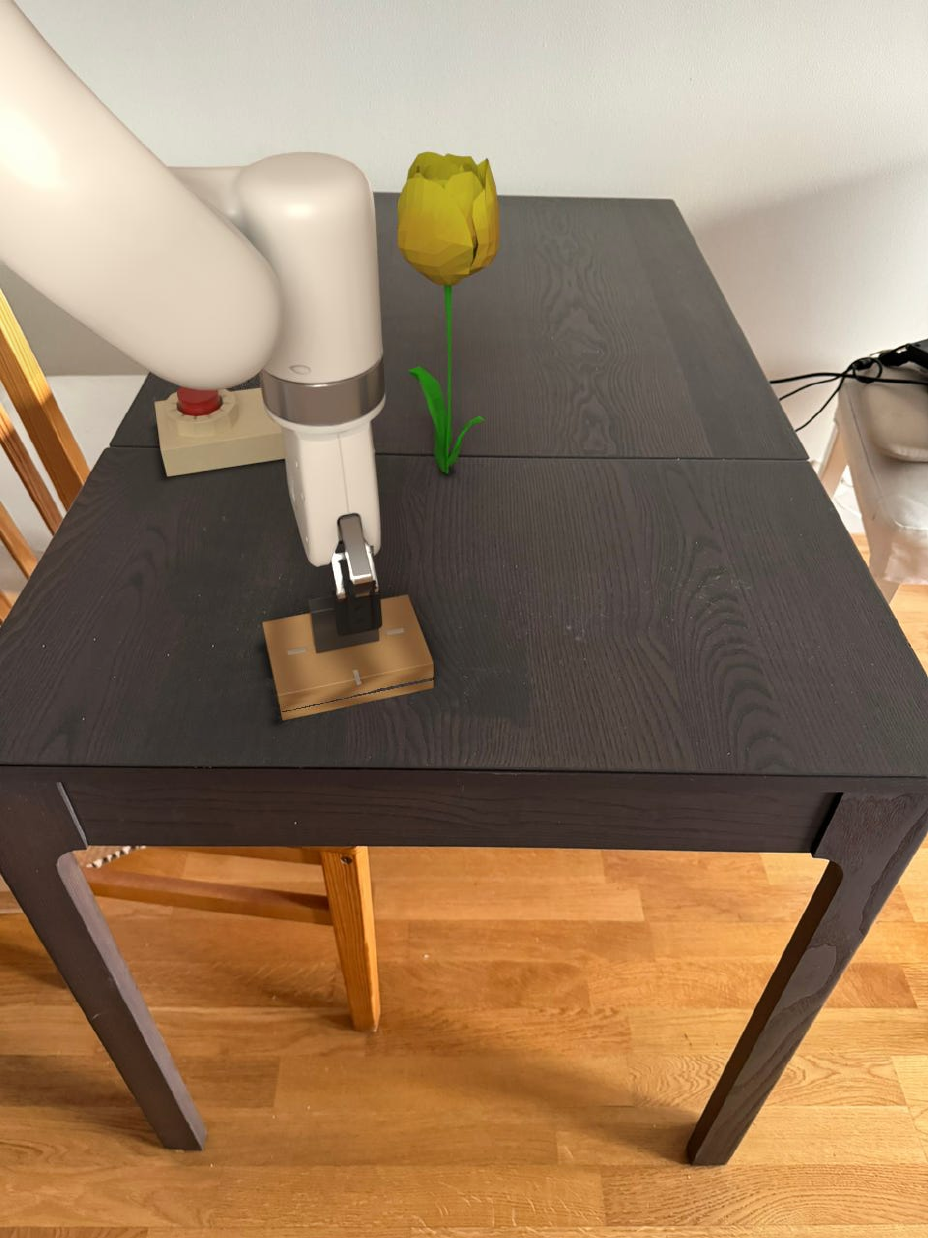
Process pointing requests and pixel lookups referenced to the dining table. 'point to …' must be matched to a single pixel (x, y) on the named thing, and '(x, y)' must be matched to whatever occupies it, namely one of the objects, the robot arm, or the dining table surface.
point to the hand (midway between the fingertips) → (345, 584)
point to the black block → (333, 628)
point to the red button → (198, 401)
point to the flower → (447, 251)
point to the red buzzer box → (218, 434)
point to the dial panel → (347, 662)
